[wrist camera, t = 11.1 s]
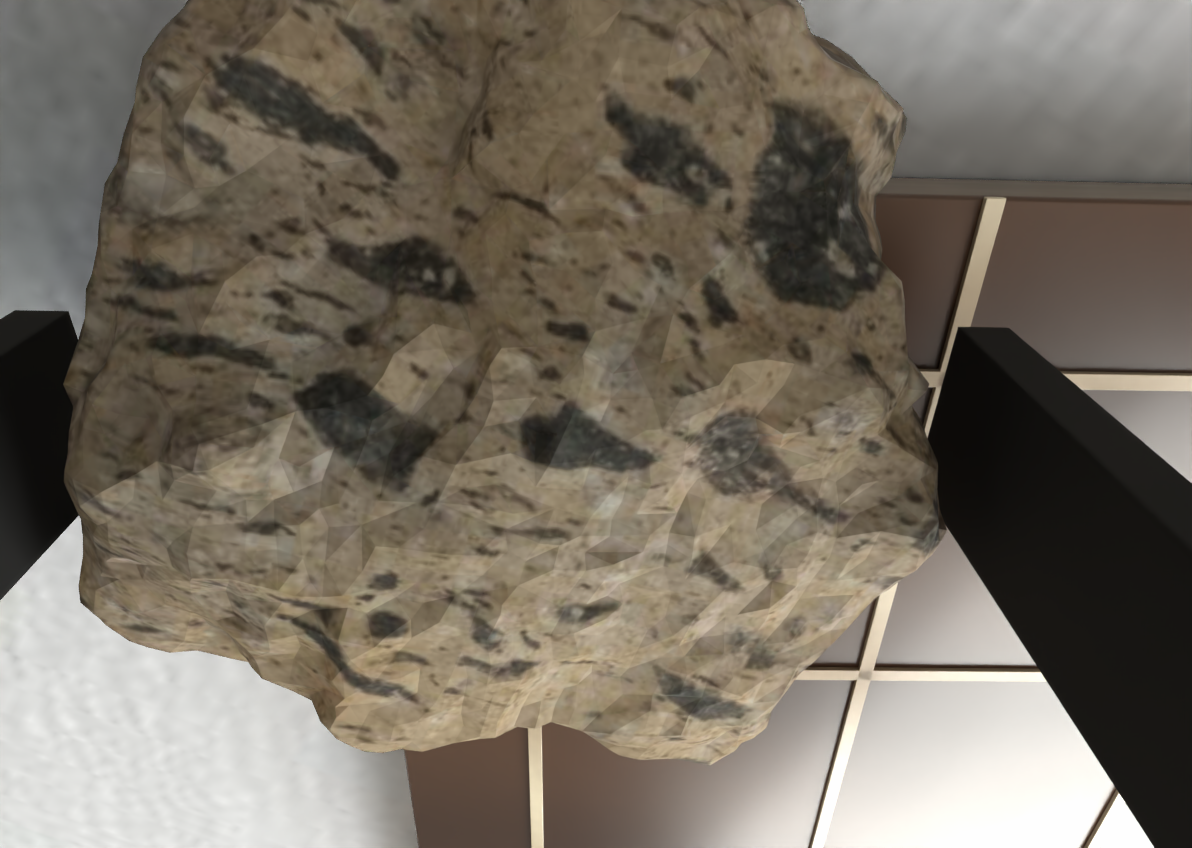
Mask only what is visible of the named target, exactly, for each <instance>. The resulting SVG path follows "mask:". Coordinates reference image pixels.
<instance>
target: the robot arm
mask: <svg viewBox="0 0 1192 848" xmlns="http://www.w3.org/2000/svg"><path fill="white" fill-rule="evenodd" d="M77 343H78V339H77V336H76V333H75V330H74V327H73V324H72V321H71V318H70V315H69V312H68V311H20V310H15V311H13V312H12V313H10V314H8V315H7V316H5V317H3V318H2V319H0V600H1V599H2V598H3V597H4V596H5V595H6V593H7V592H8V591H9V590H10V589H11V588H12V587H13V586H14V585H15V584H16V583H17V582H18V580H19V579H20V578H21V577H22V576H23V575H24V574H25V573H26V572H27V571H28V570H29V569H30V567H31V566H32V565H33V564H34V563H35V562H36V561H37V560H38V559H39V558H40V557H41V556H42V554H43V553H44V552H45V551H46V550H47V549H48V548H49V547H50V546H51V545H52V544H53V543H54V541H55V540H56V539H57V538H58V537H59V536H60V535H61V534H62V533H63V532H64V531H65V530H66V528H67V527H68V526H69V525H70V524H71V523H72V522H73V521H74V520H75V519H76V518H77V517H78V515H79V514H78V512H77V510H76V508H75V505H74V503H73V501H72V499H71V497H70V494H69V492H68V490H67V488H66V486H65V484H64V470H65V465H66V460H67V454H68V441H69V429H70V424H71V418H72V412H73V405H72V403H71V400H70V398H69V396H68V394H67V392H66V389H65V387H64V385H63V383H64V380H65V378H66V375H67V372H68V369H69V366H70V363H71V360H72V357H73V354H74V351H75V348H76V346H77ZM927 439H928V441H929V443H930V445H931V448H932V450H933V452H934V454H935V457H936V459H937V462H938V486H937V490H938V499H939V508H940V512H941V514H942V517H943V520H944V523H945V525H946V526H947V528H948V529H949V531H950V533H951V534H952V536H953V537H954V539H955V540H956V542H957V543H958V545H959V547H960V548H961V550H962V551H963V553H964V554H965V556H966V557H967V559H968V560H969V562H970V564H971V565H972V567H973V568H974V570H975V571H976V573H977V574H978V576H979V577H980V579H981V581H982V582H983V584H984V585H985V587H986V588H987V590H988V591H989V593H990V594H991V596H992V598H993V599H994V601H995V602H996V604H997V605H998V607H999V608H1000V610H1001V611H1002V613H1003V615H1004V616H1005V618H1006V619H1007V621H1008V622H1009V624H1010V625H1011V627H1012V628H1013V630H1014V632H1015V633H1016V635H1017V636H1018V638H1019V639H1020V641H1021V642H1022V644H1023V645H1024V647H1025V649H1026V650H1027V652H1028V653H1029V655H1030V656H1031V658H1032V659H1033V661H1034V662H1035V664H1036V666H1037V667H1038V669H1039V670H1040V672H1041V673H1042V675H1043V676H1044V678H1045V680H1046V681H1047V683H1048V684H1049V686H1050V687H1051V689H1052V690H1053V692H1054V693H1055V695H1056V697H1057V698H1058V700H1059V701H1060V703H1061V704H1062V706H1063V707H1064V709H1065V710H1066V712H1067V714H1068V715H1069V717H1070V718H1071V720H1072V721H1073V723H1074V724H1075V726H1076V727H1077V729H1078V731H1079V732H1080V734H1081V735H1082V737H1083V738H1084V740H1085V741H1086V743H1087V744H1088V746H1089V748H1090V749H1091V751H1092V752H1093V754H1094V755H1095V757H1096V758H1097V760H1098V761H1099V763H1100V765H1101V766H1102V768H1103V769H1104V771H1105V772H1106V774H1107V775H1108V777H1109V778H1110V780H1111V782H1112V783H1113V785H1114V786H1115V788H1116V789H1117V791H1118V792H1119V794H1120V795H1121V797H1122V799H1123V800H1124V802H1125V803H1126V805H1127V806H1128V808H1129V809H1130V811H1131V812H1132V814H1133V816H1134V817H1135V819H1136V820H1137V822H1138V823H1139V825H1140V826H1141V828H1142V830H1143V831H1144V833H1145V834H1146V836H1147V837H1148V839H1149V840H1150V842H1151V843H1152V845H1153V847H1154V848H1192V483H1191V482H1190V481H1188V480H1187V479H1186V478H1185V477H1184V476H1183V475H1181V474H1180V473H1179V472H1178V471H1177V470H1175V469H1174V468H1173V467H1172V466H1171V465H1170V464H1168V463H1167V462H1166V461H1165V460H1164V459H1163V458H1161V457H1160V456H1159V455H1158V454H1157V453H1155V452H1154V451H1153V450H1152V449H1151V448H1150V447H1148V446H1147V445H1146V444H1145V443H1144V442H1143V441H1141V440H1140V439H1139V438H1138V437H1137V436H1135V435H1134V434H1133V433H1132V432H1131V431H1130V430H1128V429H1127V428H1126V427H1125V426H1124V425H1123V424H1121V423H1120V422H1119V421H1118V420H1117V419H1115V418H1114V417H1113V416H1112V415H1111V414H1110V413H1108V412H1107V411H1106V410H1105V409H1104V408H1103V407H1101V406H1100V405H1099V404H1098V403H1097V402H1096V401H1094V400H1093V399H1092V398H1091V397H1090V396H1088V395H1087V394H1086V393H1085V392H1084V391H1083V390H1081V389H1080V388H1079V387H1078V386H1077V385H1076V384H1074V383H1073V382H1072V381H1071V380H1070V379H1068V378H1067V377H1066V376H1065V375H1064V374H1063V373H1061V372H1060V371H1059V370H1058V369H1057V368H1056V367H1054V366H1053V365H1052V364H1051V363H1050V362H1048V361H1047V360H1046V359H1045V358H1044V357H1043V356H1041V355H1040V354H1039V353H1038V352H1037V351H1036V350H1034V349H1033V348H1032V347H1031V346H1030V345H1029V344H1027V343H1026V342H1025V341H1024V340H1023V339H1021V338H1020V337H1019V336H1018V335H1017V334H1016V333H1014V332H1013V331H1012V330H1011V329H1010V328H1004V327H958V329H957V333H956V336H955V340H954V343H953V347H952V351H951V354H950V358H949V362H948V365H947V369H946V373H945V376H944V380H943V383H942V387H941V391H940V394H939V398H938V402H937V405H936V409H935V413H934V416H933V420H932V424H931V427H930V431H929V434H928V438H927Z"/></svg>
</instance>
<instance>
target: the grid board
mask: <svg viewBox="0 0 1192 848" xmlns="http://www.w3.org/2000/svg"><path fill="white" fill-rule="evenodd" d="M875 221H876V224H877V227H878V230H879V233H880V236H881V242H882V255H881V261H882V262H883V263H884V264H885V265H886V266H887V267H888V268H889V269H890V270H891V271H892V272H893V273H894V274H895V275H896V276H897V277H898V278H899V279H900V280H901V281H902V286H903V293H904V299H905V327H906V338H907V350H908V356H909V357H910V358H911V360H912V361H913V362H914V364H915V365H916V366H917V368H918V369H919V370H920V372H921V373H922V374H923V376H924V377H925V379H926V380H927V381H928V383H929V386H928V389H927V391H926V392H925V393H924V394H923V395H922V396H921V397H920V398H919V399H918V400H917V401H916V402H915V403H914V404H913V405H912V407H913V408H914V410H915V411H916V413H917V415H918V416H919V418H920V420H921V422H922V425H923V428H924V430H925V433H926V436H927V438H928V434H929V431H930V427H931V424H932V420H933V416H934V413H935V409H936V405H937V402H938V398H939V394H940V391H941V387H942V383H943V380H944V376H945V373H946V369H947V365H948V362H949V358H950V354H951V351H952V347H953V343H954V340H955V336H956V333H957V329H958V327H1004V328H1010V329H1011V330H1012V331H1013V332H1014V333H1016V334H1017V335H1018V336H1019V337H1020V338H1021V339H1023V340H1024V341H1025V342H1026V343H1027V344H1029V345H1030V346H1031V347H1032V348H1033V349H1034V350H1036V351H1037V352H1038V353H1039V354H1040V355H1041V356H1043V357H1044V358H1045V359H1046V360H1047V361H1048V362H1050V363H1051V364H1052V365H1053V366H1054V367H1056V368H1057V369H1058V370H1059V371H1060V372H1061V373H1063V374H1064V375H1065V376H1066V377H1067V378H1068V379H1070V380H1071V381H1072V382H1073V383H1074V384H1076V385H1077V386H1078V387H1079V388H1080V389H1081V390H1083V391H1084V392H1085V393H1086V394H1087V395H1088V396H1090V397H1091V398H1092V399H1093V400H1094V401H1096V402H1097V403H1098V404H1099V405H1100V406H1101V407H1103V408H1104V409H1105V410H1106V411H1107V412H1108V413H1110V414H1111V415H1112V416H1113V417H1114V418H1115V419H1117V420H1118V421H1119V422H1120V423H1121V424H1123V425H1124V426H1125V427H1126V428H1127V429H1128V430H1130V431H1131V432H1132V433H1133V434H1134V435H1135V436H1137V437H1138V438H1139V439H1140V440H1141V441H1143V442H1144V443H1145V444H1146V445H1147V446H1148V447H1150V448H1151V449H1152V450H1153V451H1154V452H1155V453H1157V454H1158V455H1159V456H1160V457H1161V458H1163V459H1164V460H1165V461H1166V462H1167V463H1168V464H1170V465H1171V466H1172V467H1173V468H1174V469H1175V470H1177V471H1178V472H1179V473H1180V474H1181V475H1183V476H1184V477H1185V478H1186V479H1187V480H1188V481H1190V482H1191V483H1192V184H1162V183H1116V182H1070V181H1024V180H978V179H932V178H890V179H889V181H888V182H887V183H886V185H885V186H884V187H883V188H882V190H881V191H880V192H879V194H878V195H877V196H876V218H875ZM945 526H946V525H945ZM946 528H947V526H946ZM404 754H405V761H406V768H407V774H408V781H409V788H410V794H411V801H412V808H413V814H414V821H415V828H416V834H417V841H418V848H1154V847H1153V845H1152V843H1151V842H1150V840H1149V839H1148V837H1147V836H1146V834H1145V833H1144V831H1143V830H1142V828H1141V826H1140V825H1139V823H1138V822H1137V820H1136V819H1135V817H1134V816H1133V814H1132V812H1131V811H1130V809H1129V808H1128V806H1127V805H1126V803H1125V802H1124V800H1123V799H1122V797H1121V795H1120V794H1119V792H1118V791H1117V789H1116V788H1115V786H1114V785H1113V783H1112V782H1111V780H1110V778H1109V777H1108V775H1107V774H1106V772H1105V771H1104V769H1103V768H1102V766H1101V765H1100V763H1099V761H1098V760H1097V758H1096V757H1095V755H1094V754H1093V752H1092V751H1091V749H1090V748H1089V746H1088V744H1087V743H1086V741H1085V740H1084V738H1083V737H1082V735H1081V734H1080V732H1079V731H1078V729H1077V727H1076V726H1075V724H1074V723H1073V721H1072V720H1071V718H1070V717H1069V715H1068V714H1067V712H1066V710H1065V709H1064V707H1063V706H1062V704H1061V703H1060V701H1059V700H1058V698H1057V697H1056V695H1055V693H1054V692H1053V690H1052V689H1051V687H1050V686H1049V684H1048V683H1047V681H1046V680H1045V678H1044V676H1043V675H1042V673H1041V672H1040V670H1039V669H1038V667H1037V666H1036V664H1035V662H1034V661H1033V659H1032V658H1031V656H1030V655H1029V653H1028V652H1027V650H1026V649H1025V647H1024V645H1023V644H1022V642H1021V641H1020V639H1019V638H1018V636H1017V635H1016V633H1015V632H1014V630H1013V628H1012V627H1011V625H1010V624H1009V622H1008V621H1007V619H1006V618H1005V616H1004V615H1003V613H1002V611H1001V610H1000V608H999V607H998V605H997V604H996V602H995V601H994V599H993V598H992V596H991V594H990V593H989V591H988V590H987V588H986V587H985V585H984V584H983V582H982V581H981V579H980V577H979V576H978V574H977V573H976V571H975V570H974V568H973V567H972V565H971V564H970V562H969V560H968V559H967V557H966V556H965V554H964V553H963V551H962V550H961V548H960V547H959V545H958V543H957V542H956V540H955V539H954V537H953V536H952V534H951V533H950V531H949V529H948V528H947V531H946V533H945V535H944V537H943V539H942V541H941V543H940V544H939V545H938V547H937V548H936V550H935V551H934V553H933V554H932V555H931V556H930V557H929V558H928V559H927V560H926V561H925V562H924V563H923V564H922V565H921V566H920V567H919V568H918V569H917V570H916V571H915V572H913V573H911V574H909V575H908V576H906V577H905V578H904V579H902V580H901V581H899V582H898V583H897V584H895V585H894V586H893V587H891V588H890V589H888V590H887V591H885V592H884V593H882V594H881V595H879V596H877V597H876V598H874V600H873V601H872V602H871V603H870V604H869V605H868V606H867V607H866V608H865V609H864V610H863V612H862V613H861V614H860V615H859V616H858V617H857V618H856V619H855V620H854V622H853V623H852V624H851V625H850V626H849V627H848V628H847V629H846V630H845V631H844V632H843V633H842V635H841V636H840V637H839V638H838V639H837V640H836V641H835V642H834V643H833V644H832V645H831V646H830V647H829V648H828V649H827V650H826V651H825V652H824V653H823V654H822V655H821V656H820V657H819V658H818V659H817V660H816V661H814V662H813V663H812V664H811V665H810V666H808V667H807V668H806V669H805V670H804V671H802V672H801V673H800V674H799V675H798V676H797V678H796V679H795V680H794V682H793V683H792V685H791V686H790V687H789V689H788V690H787V691H786V693H785V694H784V695H783V697H782V698H781V699H780V701H779V702H778V703H777V704H776V706H775V707H774V708H773V710H772V713H771V716H770V719H769V722H768V725H767V727H766V728H765V729H764V730H763V731H762V732H761V733H759V734H758V735H757V736H756V737H754V738H753V739H750V740H748V741H745V742H743V743H741V744H740V745H739V747H738V748H737V749H736V750H735V751H734V752H732V753H730V754H729V755H727V756H725V757H723V758H722V759H720V760H718V761H717V762H715V763H713V764H712V765H705V764H700V763H694V762H689V761H683V760H678V759H649V760H639V759H633V758H629V757H624V756H620V755H618V754H616V753H614V752H613V751H611V750H609V749H607V748H606V747H605V746H603V745H602V744H601V743H599V742H598V741H596V740H595V739H594V738H592V737H591V736H589V735H587V734H586V733H584V732H582V731H580V730H576V729H573V728H570V727H566V726H563V725H560V724H556V723H553V722H550V723H547V724H545V725H543V726H541V727H539V728H536V729H530V728H523V727H516V728H514V729H512V730H510V731H508V732H506V733H504V734H502V735H500V736H498V737H496V738H485V739H477V740H470V741H464V742H458V743H452V744H449V745H445V746H441V747H438V748H434V749H430V750H427V751H423V752H421V751H413V750H404Z"/></svg>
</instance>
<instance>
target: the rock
mask: <svg viewBox="0 0 1192 848" xmlns="http://www.w3.org/2000/svg"><path fill="white" fill-rule="evenodd" d="M906 123H907V117H906V116H905V114H904V112H903V108H902V107H901V106H900V105H899V104H898V102H897V101H895V100H894V99H893V98H892V97H891V96H890V95H889V94H888V93H887V92H886V91H885V90H883V89H882V88H881V86H880V85H879V83H878V81H876V80H874V79H872V78H871V77H870V76H869V75H868V73H867V72H866V71H865V70H864V69H863V68H862V67H861V66H860V65H859V64H858V63H857V62H856V61H855V60H854V59H853V58H852V57H851V56H850V55H848V54H847V53H845V52H844V51H842V50H841V49H839V48H838V47H836V46H835V45H833V44H832V43H830V42H829V41H827V40H825V39H822V38H820V37H817V36H814V35H812V33H811V31H810V30H809V28H808V26H807V21H806V17H805V13H804V8H803V7H802V6H801V5H800V4H799V3H798V2H797V1H796V0H188V1H187V3H186V5H185V6H184V8H183V9H182V10H181V11H180V12H179V13H178V14H177V15H176V16H175V17H174V18H173V19H172V20H171V21H170V22H169V23H168V24H167V25H166V26H165V27H164V28H163V29H162V30H161V31H160V33H159V34H158V36H157V37H156V39H155V40H154V42H153V43H152V45H151V46H150V48H149V49H148V50H147V52H146V53H145V55H144V56H143V59H142V64H141V68H140V72H139V77H138V81H137V86H136V93H135V103H134V106H133V108H132V111H131V114H130V117H129V120H128V123H127V126H126V129H125V132H124V136H123V140H122V144H121V149H120V153H119V157H118V161H117V164H116V166H115V167H114V169H113V171H112V172H111V174H110V176H109V177H108V179H107V181H106V182H105V186H104V193H103V200H102V206H101V213H100V220H99V231H98V247H97V252H96V257H95V262H94V267H93V272H92V275H91V278H90V280H89V283H88V285H87V288H86V307H85V319H84V323H83V326H82V329H81V333H80V336H79V340H78V343H77V346H76V348H75V351H74V354H73V357H72V360H71V363H70V366H69V369H68V372H67V375H66V378H65V380H64V383H63V385H64V387H65V389H66V392H67V394H68V396H69V398H70V400H71V403H72V405H73V412H72V418H71V424H70V429H69V441H68V454H67V460H66V465H65V470H64V484H65V486H66V488H67V490H68V492H69V494H70V497H71V499H72V501H73V503H74V505H75V508H76V510H77V512H78V514H79V516H80V518H81V524H82V533H83V559H82V566H81V573H80V580H79V593H80V601H81V603H82V604H83V605H84V606H85V607H86V608H88V609H89V610H90V611H91V612H92V613H93V614H95V615H96V616H97V617H99V618H100V619H101V620H102V621H103V622H104V623H105V624H106V625H107V626H108V627H110V628H111V629H113V630H114V631H116V632H117V633H118V634H120V635H121V636H123V637H124V638H126V639H127V640H129V641H131V642H134V643H137V644H140V645H143V646H146V647H149V648H153V649H157V650H161V651H165V652H182V651H194V650H198V651H202V652H207V653H211V654H215V655H219V656H223V657H227V658H232V659H236V660H241V661H246V662H249V664H250V665H251V667H252V668H253V669H254V670H255V671H256V672H257V673H258V674H259V676H260V677H261V678H262V679H265V680H267V681H270V682H272V683H275V684H277V685H279V686H282V687H284V688H287V689H289V690H292V691H294V692H296V693H298V694H300V695H302V696H304V697H306V698H308V699H310V700H312V702H313V705H314V707H315V709H316V712H317V714H318V716H319V719H320V721H321V723H322V724H323V725H324V726H325V727H326V728H327V729H328V730H329V731H330V732H331V733H332V734H333V735H334V737H335V738H336V739H338V740H340V741H342V742H344V743H346V744H348V745H350V746H352V747H355V748H357V749H359V750H362V751H366V752H378V753H384V752H389V751H394V750H399V749H404V750H413V751H421V752H423V751H427V750H430V749H434V748H438V747H441V746H445V745H449V744H452V743H458V742H464V741H470V740H477V739H485V738H496V737H498V736H500V735H502V734H504V733H506V732H508V731H510V730H512V729H514V728H516V727H523V728H530V729H536V728H539V727H541V726H543V725H545V724H547V723H550V722H553V723H556V724H560V725H563V726H566V727H570V728H573V729H576V730H580V731H582V732H584V733H586V734H587V735H589V736H591V737H592V738H594V739H595V740H596V741H598V742H599V743H601V744H602V745H603V746H605V747H606V748H607V749H609V750H611V751H613V752H614V753H616V754H618V755H620V756H624V757H629V758H633V759H639V760H649V759H678V760H683V761H689V762H694V763H700V764H705V765H712V764H713V763H715V762H717V761H718V760H720V759H722V758H723V757H725V756H727V755H729V754H730V753H732V752H734V751H735V750H736V749H737V748H738V747H739V745H740V744H741V743H743V742H745V741H748V740H750V739H753V738H754V737H756V736H757V735H758V734H759V733H761V732H762V731H763V730H764V729H765V728H766V727H767V725H768V722H769V719H770V716H771V713H772V710H773V708H774V707H775V706H776V704H777V703H778V702H779V701H780V699H781V698H782V697H783V695H784V694H785V693H786V691H787V690H788V689H789V687H790V686H791V685H792V683H793V682H794V680H795V679H796V678H797V676H798V675H799V674H800V673H801V672H802V671H804V670H805V669H806V668H807V667H808V666H810V665H811V664H812V663H813V662H814V661H816V660H817V659H818V658H819V657H820V656H821V655H822V654H823V653H824V652H825V651H826V650H827V649H828V648H829V647H830V646H831V645H832V644H833V643H834V642H835V641H836V640H837V639H838V638H839V637H840V636H841V635H842V633H843V632H844V631H845V630H846V629H847V628H848V627H849V626H850V625H851V624H852V623H853V622H854V620H855V619H856V618H857V617H858V616H859V615H860V614H861V613H862V612H863V610H864V609H865V608H866V607H867V606H868V605H869V604H870V603H871V602H872V601H873V600H874V598H876V597H877V596H879V595H881V594H882V593H884V592H885V591H887V590H888V589H890V588H891V587H893V586H894V585H895V584H897V583H898V582H899V581H901V580H902V579H904V578H905V577H906V576H908V575H909V574H911V573H913V572H915V571H916V570H917V569H918V568H919V567H920V566H921V565H922V564H923V563H924V562H925V561H926V560H927V559H928V558H929V557H930V556H931V555H932V554H933V553H934V551H935V550H936V548H937V547H938V545H939V544H940V543H941V541H942V539H943V537H944V535H945V533H946V531H947V528H946V526H945V523H944V520H943V517H942V514H941V512H940V508H939V499H938V490H937V486H938V462H937V459H936V457H935V454H934V452H933V450H932V448H931V445H930V443H929V441H928V439H927V436H926V433H925V430H924V428H923V425H922V422H921V420H920V418H919V416H918V415H917V413H916V411H915V410H914V408H913V407H912V405H913V404H914V403H915V402H916V401H917V400H918V399H919V398H920V397H921V396H922V395H923V394H924V393H925V392H926V391H927V389H928V386H929V383H928V381H927V380H926V379H925V377H924V376H923V374H922V373H921V372H920V370H919V369H918V368H917V366H916V365H915V364H914V362H913V361H912V360H911V358H910V357H909V356H908V350H907V338H906V327H905V299H904V293H903V286H902V281H901V280H900V279H899V278H898V277H897V276H896V275H895V274H894V273H893V272H892V271H891V270H890V269H889V268H888V267H887V266H886V265H885V264H884V263H883V262H882V261H881V255H882V242H881V236H880V233H879V230H878V227H877V224H876V221H875V218H876V196H877V195H878V194H879V192H880V191H881V190H882V188H883V187H884V186H885V185H886V183H887V182H888V181H889V179H890V178H891V176H892V172H893V168H894V164H895V160H896V153H897V150H898V148H899V146H900V143H901V141H902V138H903V136H904V133H905V131H906Z"/></svg>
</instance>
